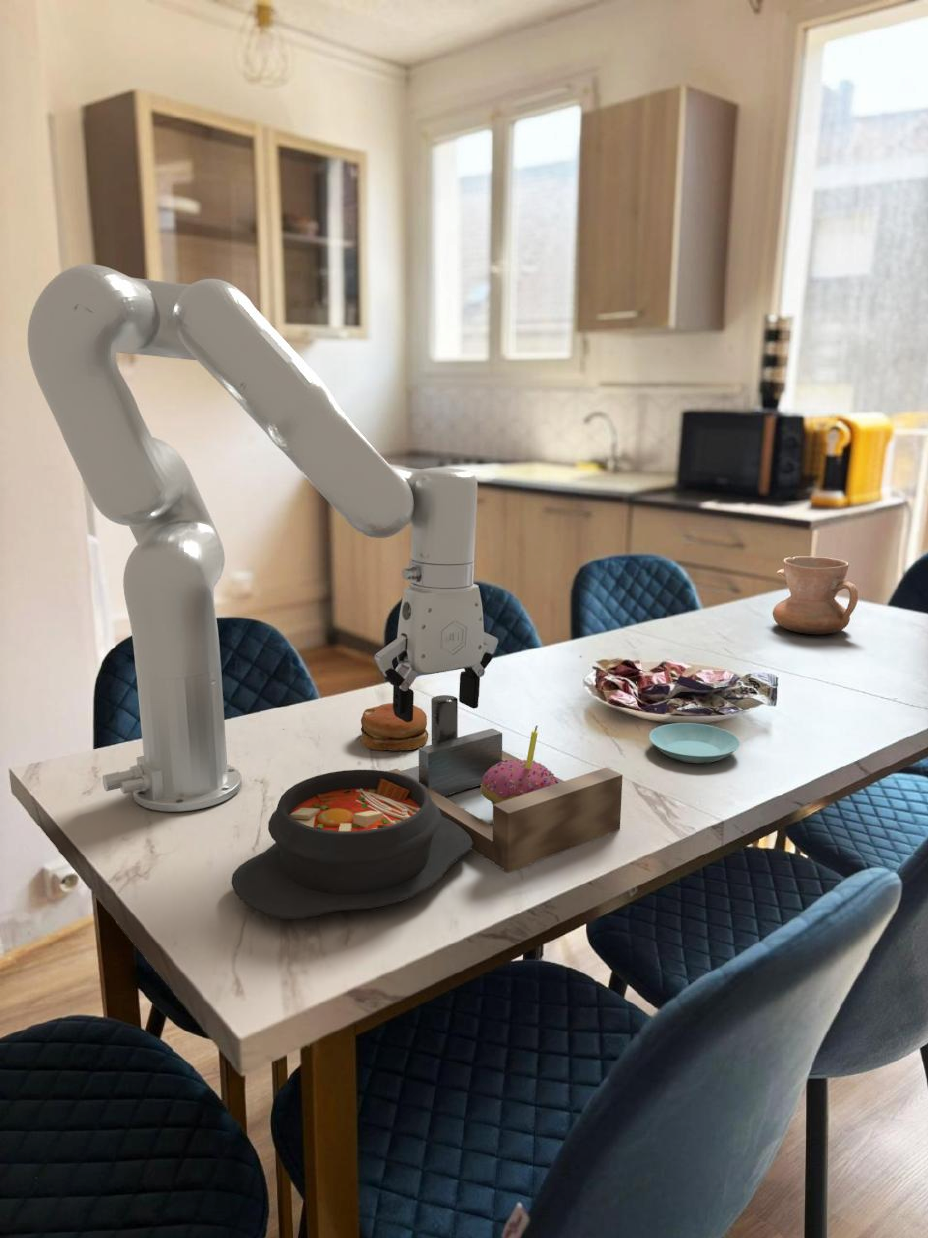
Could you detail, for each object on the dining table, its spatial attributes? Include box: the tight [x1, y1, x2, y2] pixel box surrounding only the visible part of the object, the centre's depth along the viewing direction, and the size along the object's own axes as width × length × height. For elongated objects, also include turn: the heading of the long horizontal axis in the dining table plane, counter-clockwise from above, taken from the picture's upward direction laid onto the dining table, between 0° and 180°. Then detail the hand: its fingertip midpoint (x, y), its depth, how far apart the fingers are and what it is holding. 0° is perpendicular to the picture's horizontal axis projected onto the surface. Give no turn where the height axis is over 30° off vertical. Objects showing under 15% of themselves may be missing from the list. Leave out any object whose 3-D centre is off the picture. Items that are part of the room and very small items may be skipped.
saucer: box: [648, 722, 741, 764], centre depth 124 cm, size 12×12×2 cm
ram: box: [401, 694, 503, 797], centre depth 113 cm, size 11×7×10 cm, turn 126°
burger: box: [360, 702, 429, 752], centre depth 128 cm, size 10×9×5 cm
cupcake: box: [480, 724, 558, 805], centre depth 103 cm, size 9×8×12 cm
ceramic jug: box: [772, 555, 859, 635], centre depth 184 cm, size 18×14×14 cm
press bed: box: [386, 749, 623, 873], centre depth 107 cm, size 16×24×6 cm, turn 36°
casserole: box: [231, 769, 473, 920], centre depth 92 cm, size 25×19×8 cm
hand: (436, 711), depth 113 cm, fingers open, 9 cm apart
